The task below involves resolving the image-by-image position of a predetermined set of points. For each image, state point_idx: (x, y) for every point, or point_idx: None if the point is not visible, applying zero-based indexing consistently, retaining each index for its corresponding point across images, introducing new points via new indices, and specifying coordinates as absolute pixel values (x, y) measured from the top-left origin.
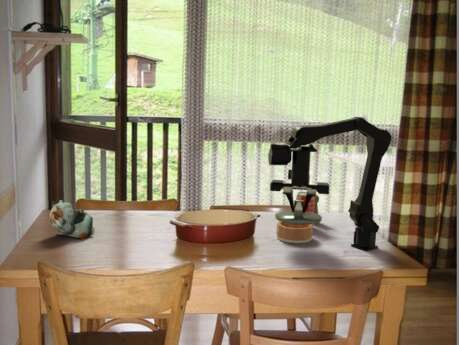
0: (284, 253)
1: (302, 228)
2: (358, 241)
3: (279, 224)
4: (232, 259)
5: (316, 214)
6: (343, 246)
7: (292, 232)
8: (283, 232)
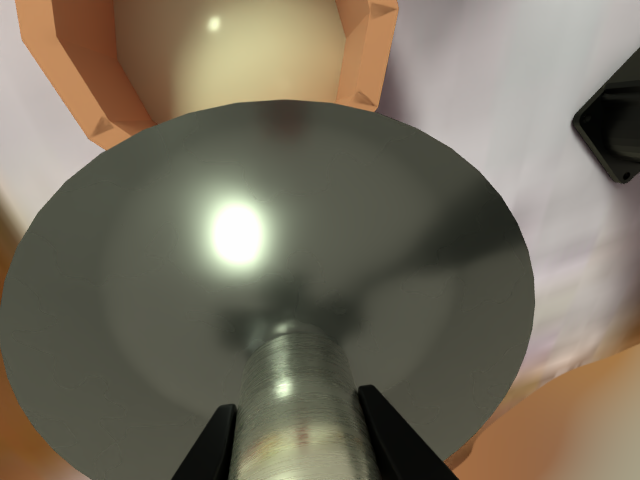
0: None
1: None
2: (633, 148)
3: (74, 92)
4: (72, 466)
5: (498, 248)
6: (528, 137)
7: None
8: None
